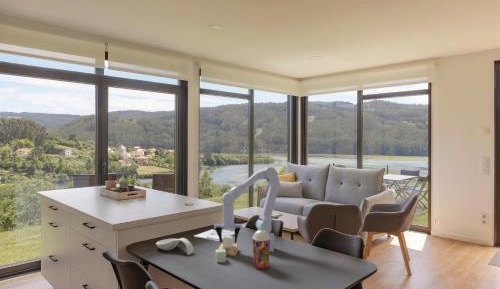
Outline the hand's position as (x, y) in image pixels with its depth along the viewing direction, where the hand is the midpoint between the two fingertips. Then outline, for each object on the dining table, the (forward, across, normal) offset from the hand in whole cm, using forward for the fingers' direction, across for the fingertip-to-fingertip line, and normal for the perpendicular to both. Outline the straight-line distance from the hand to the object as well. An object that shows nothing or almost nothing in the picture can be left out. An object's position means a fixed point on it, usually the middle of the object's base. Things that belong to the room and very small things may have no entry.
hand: (228, 242), depth 178 cm
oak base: (+5, 0, 0) cm, 5 cm away
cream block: (+2, 0, 0) cm, 2 cm away
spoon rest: (+6, -29, +2) cm, 29 cm away
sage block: (+6, -2, -12) cm, 13 cm away
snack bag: (+6, -12, +31) cm, 34 cm away
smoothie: (+6, +18, -19) cm, 27 cm away
